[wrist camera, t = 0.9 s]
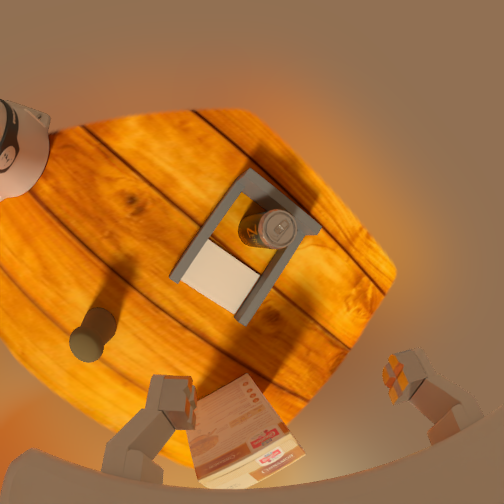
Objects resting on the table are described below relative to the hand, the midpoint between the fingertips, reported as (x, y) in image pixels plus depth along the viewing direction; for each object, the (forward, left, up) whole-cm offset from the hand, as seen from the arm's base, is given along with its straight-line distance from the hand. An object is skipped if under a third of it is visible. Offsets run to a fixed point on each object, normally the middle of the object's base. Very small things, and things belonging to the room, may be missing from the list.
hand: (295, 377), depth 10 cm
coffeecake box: (+18, -19, -37) cm, 45 cm away
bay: (+4, +7, -36) cm, 37 cm away
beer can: (+4, +11, -37) cm, 38 cm away
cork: (-9, -17, -37) cm, 41 cm away
